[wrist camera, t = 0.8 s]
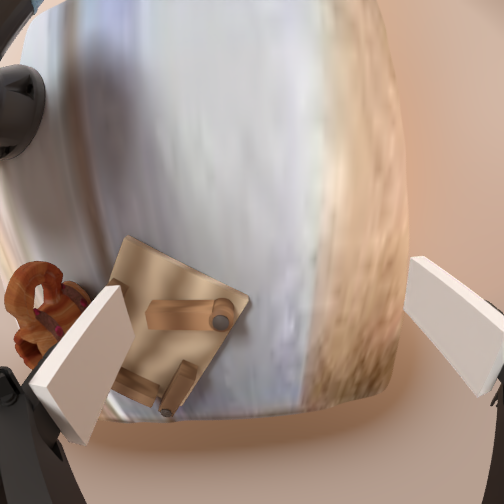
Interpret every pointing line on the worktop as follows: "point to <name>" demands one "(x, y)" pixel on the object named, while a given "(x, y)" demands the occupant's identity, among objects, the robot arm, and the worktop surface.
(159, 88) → the worktop surface
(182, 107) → the worktop surface
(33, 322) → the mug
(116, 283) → the seat
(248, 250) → the worktop surface
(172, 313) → the leg
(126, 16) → the worktop surface
